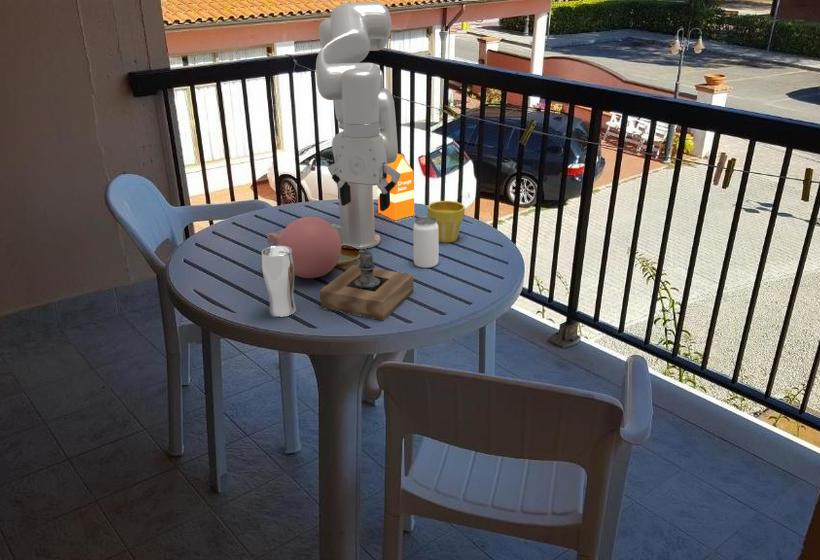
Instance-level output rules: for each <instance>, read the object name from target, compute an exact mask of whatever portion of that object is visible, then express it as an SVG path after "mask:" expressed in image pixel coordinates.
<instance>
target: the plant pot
mask: <svg viewBox="0 0 820 560" xmlns="http://www.w3.org/2000/svg"><path fill="white" fill-rule="evenodd" d="M465 211H466V209H465V205H464V204H463V203H461V202H457V201H453V200H438V201H434V202H430V203H429V204H428V206H427V217H432V218H435V219H436V220H437V224H438V234H439V243H454V242H456V241H457V240H458V236H459V232H460V228H461V225H462V221H463V220H464V219H465Z"/></svg>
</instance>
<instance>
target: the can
mask: <svg viewBox="0 0 820 560" xmlns="http://www.w3.org/2000/svg"><path fill="white" fill-rule="evenodd" d="M412 228H413V229H412V230H413V231H412V232H413V238H412V239H413V264H414V265H415V266H416V267H418V268H421V269H431V268H434V267H436V266H438V264H439V257H440V256H439V244H440V242H439V234H438V224H437V220H436V219H435V218H432V217H428V216H420V217H417V218H416V219H414V224H413V227H412Z"/></svg>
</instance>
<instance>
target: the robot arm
mask: <svg viewBox="0 0 820 560" xmlns="http://www.w3.org/2000/svg"><path fill="white" fill-rule="evenodd" d="M391 31H392V18H391V14H390V10H389V9H388V7H387V6H386V5H385V4H384V3H382V2H378V1H370V2H369V1H368V2H367V1H363V2H358V1H357V2H344V3H341V4H339V5H338V4H337V6H336V7H335V8H333V9H332V11H331V14H330V17H328V18H326V19H324V20H322V21H321V22H320V24H319V28H318V35H319V42H320V45H321V46H320V47H321V49H320V50H319V52H318V55H317V57H316V61H315V74H316V86H317V90H318V92H319V95H320V96H321V98H323V99H325V100H328V101H333V103H334V104H333V106H334V113H335V118H336V120H337V122H338V128H339V129H341V130H343V131H340V132H338V133H337V134H335V135H334V136H333V138H332V141H331V149H332V155H333V159H334V163H333V164H331V165H329V166H327V169H328V172H329V174H330V175H331V179H332V180H333V182H335V184H336V186H337V190H338V192H337V193H338V206H339V221H340V224H337V223H330V224H331V225H332V226H333V227H334V229H335V230H336V231H337V233H338V235H339V238H340V242H341V245H349V246H353V247H355V248H358V249H360V250H364V249H365V248H366V249H367V248H368V249H371V248H374V247H376V246H378V245H379V244H380V243H381V236H380V235H379V234H378V233H376V230H375V211H374V210H375V209H374V208H375V207H374V189H373V187H375V186H377V189H378V188H379V189H380V191H381V192H382V193H380V195H379V197H380V210H381V211H385V210H386V209H387V208H389V206H390V191H391V190H392V189H393V188H394V187H395V186H396V185H397V182H398V180H399V178H400V176H401V174H400V173H399V172H397V171H396V170H394V169H393V168H391V167H390V166H388V165H387V164H392V163H394V162H395V161H396V159H397V155H398V154H399V153H398V152H399V147H398V132H397V121H396V120H397V119H396V109H395V99H394V97H393V94H392V93H391V91H390V90H389V89H388V88H384V80H385V79H384V74H383V70H381V67H379V65H377V64H376V63H373V62H362V61H364V60H365V58H367V56H368V54H369V53H370V51H372V52H373V51H375V52H376V51H381V50H383V49H385V48H386V46H387V44H388V41H389V39H390V35H391ZM387 174H388V175H390V176H391V181H390V183H389V182H388V181H387V180H386V179H387ZM368 249H367V250H368Z"/></svg>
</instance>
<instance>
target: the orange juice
mask: <svg viewBox="0 0 820 560" xmlns="http://www.w3.org/2000/svg"><path fill="white" fill-rule="evenodd" d="M387 165H388V166H390V167H391V168H393V169H394V170H396V171H397V172H399V173H400V174H401V176H400V178H399V180H398V182H397V185H396V186H395V187H394V188H393V189H392V190H391V191H390V206H389V208H387V209H386V210H385V211H381V210H380V197H379V195H380V193H382V192H381V191H380V189H379V188H378V187H377V203H378V208H377V209H378V214H379V213H381V214H383V215H385V216H387V217H389V218H391V219H393V220H398V219H401V218H404V217H408V216H413V215H414V216H415V185H414V184H415V183H414V182H415V179H414V173H415V172H414V170H413V169H412V167H411V166H410V164H409V163H408V160H407V159H406V158H405V156H404V155H403V154H401V153H398V155H397V159H396V161H395V162H394V163H392V164H387ZM386 180H387V181H388V182H389V183H390V181H391V176H390V175H388V174H387V179H386ZM414 216H413V217H414ZM393 220H392V221H393Z"/></svg>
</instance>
